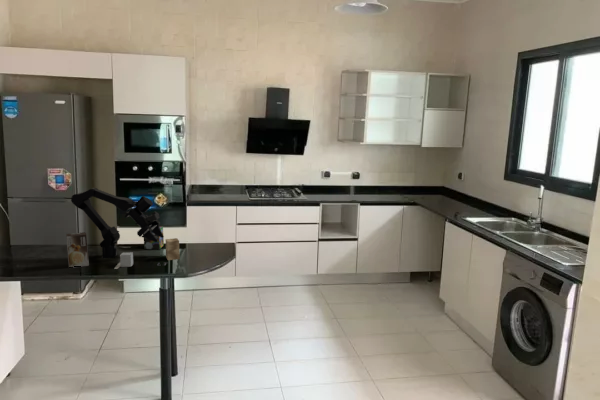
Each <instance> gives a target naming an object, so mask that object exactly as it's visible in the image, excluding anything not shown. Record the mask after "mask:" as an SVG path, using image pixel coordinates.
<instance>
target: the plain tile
mask: <svg viewBox="0 0 600 400" xmlns="http://www.w3.org/2000/svg"><path fill="white" fill-rule="evenodd" d="M120 267H121V266H120V262H118V263H117V265H115V267H114V270H115V269H116V270H117V269H119V268H120Z"/></svg>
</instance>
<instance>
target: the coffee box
mask: <svg viewBox="0 0 600 400" xmlns="http://www.w3.org/2000/svg"><path fill="white" fill-rule="evenodd" d="M65 235H66V247H67V248H66V249H67V261H68V268H69V267H73V268H75V267H74V266H81V267H88V266H89V265H90V263H89V251H88V250H89V249H88V235H87V232H73V233H66V234H65Z"/></svg>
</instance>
